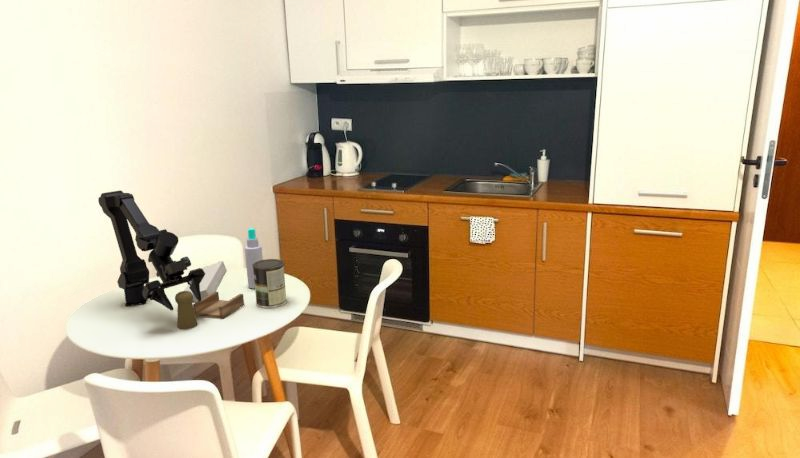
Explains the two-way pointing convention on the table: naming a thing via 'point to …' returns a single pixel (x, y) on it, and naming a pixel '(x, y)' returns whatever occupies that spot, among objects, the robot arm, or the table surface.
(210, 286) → the light grey block
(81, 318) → the table surface
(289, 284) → the table surface
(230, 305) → the tray
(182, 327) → the cork
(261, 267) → the coffee can
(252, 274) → the spray bottle
